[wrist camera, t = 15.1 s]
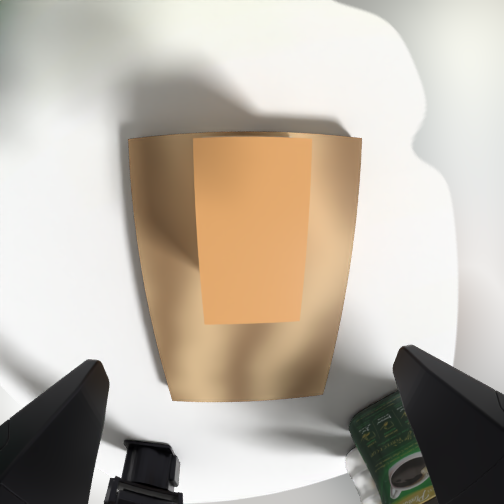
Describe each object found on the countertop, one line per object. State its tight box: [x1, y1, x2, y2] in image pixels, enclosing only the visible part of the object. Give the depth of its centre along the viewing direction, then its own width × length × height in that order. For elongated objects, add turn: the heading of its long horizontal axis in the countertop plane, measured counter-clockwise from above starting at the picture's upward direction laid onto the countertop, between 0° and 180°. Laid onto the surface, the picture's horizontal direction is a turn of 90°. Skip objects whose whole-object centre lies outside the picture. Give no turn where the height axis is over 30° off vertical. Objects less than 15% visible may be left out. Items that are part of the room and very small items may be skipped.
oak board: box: [128, 132, 362, 402], centre depth 20 cm, size 14×22×2 cm, turn 0°
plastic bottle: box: [345, 447, 382, 504], centre depth 24 cm, size 6×7×20 cm
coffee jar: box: [349, 391, 438, 504], centre depth 21 cm, size 10×8×19 cm
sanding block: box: [193, 136, 312, 325], centre depth 15 cm, size 5×9×5 cm, turn 0°
